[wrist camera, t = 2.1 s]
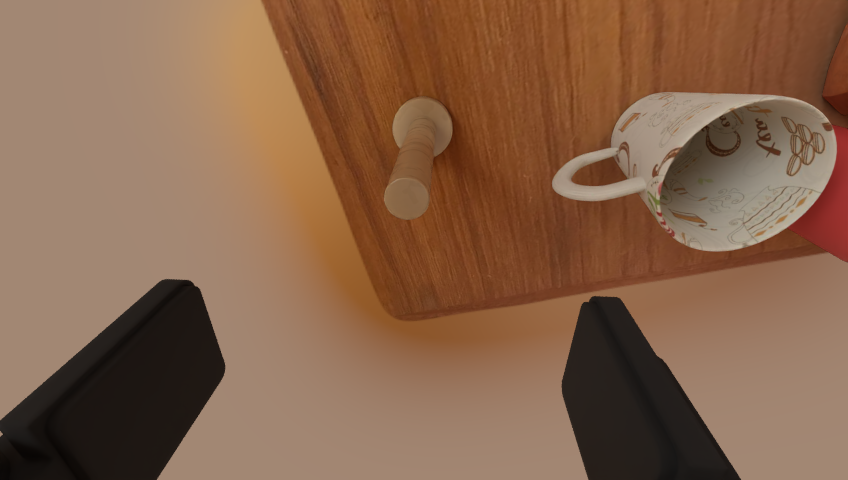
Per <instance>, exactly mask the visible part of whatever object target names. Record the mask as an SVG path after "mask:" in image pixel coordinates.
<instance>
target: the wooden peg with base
mask: <svg viewBox="0 0 848 480" xmlns="http://www.w3.org/2000/svg"><path fill="white" fill-rule="evenodd" d="M392 130H393V136H394V139H395V142H396V144H397V145H398V147H399V148H400V152H399V155H398V158H397V160H396V163H395V166H394V168H393V171H392V174H391V176H390V179H389V182H388V185H387V187H386V190H385V193H384V202H385V205H386V207H387V209H388V210H389V212H390V213H391V214H393V215H394V216H396V217H398V218H400V219H404V220H411V219H415V218H418V217H419V216H421V215H422V214H423V213H424V212H425V211H426V210H427V208H428V206H429V201H430V190H431V179H432V168H433V158H434V157H435V156H437V155H439V154H440V153H442V152H443V151H444V150H445V149H446V147H447V146H448V144H449V142H450V140H451V137H452V120H451V116H450V114H449V112H448V110H447V109H446V107H445V106H444V105H443V104H442V103H440V102H439V101H437V100H436V99H433V98H430V97H424V96H422V97H415V98H412V99H410V100H408V101H407V102H405V103H404V104H403V105H402V106H401V107H400V108H399V110H398V112H397V113H396V115H395V117H394V121H393V129H392Z"/></svg>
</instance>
